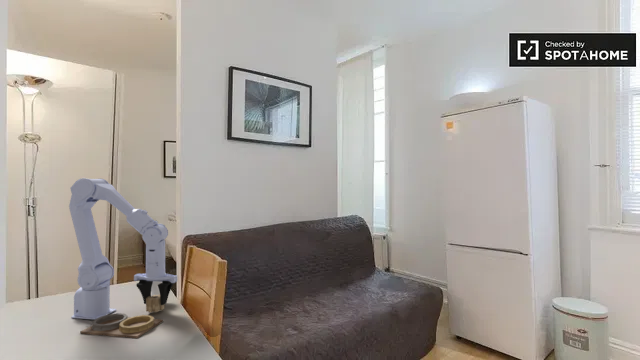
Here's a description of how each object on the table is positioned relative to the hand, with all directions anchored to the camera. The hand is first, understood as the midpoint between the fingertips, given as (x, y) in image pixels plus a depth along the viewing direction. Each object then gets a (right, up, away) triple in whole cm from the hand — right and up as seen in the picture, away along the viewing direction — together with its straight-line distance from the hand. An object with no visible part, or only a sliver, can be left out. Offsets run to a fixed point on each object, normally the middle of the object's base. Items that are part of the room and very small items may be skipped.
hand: (155, 303), depth 107 cm
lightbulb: (-4, -3, +9) cm, 11 cm away
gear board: (-4, -3, -11) cm, 12 cm away
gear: (0, -2, 0) cm, 2 cm away
